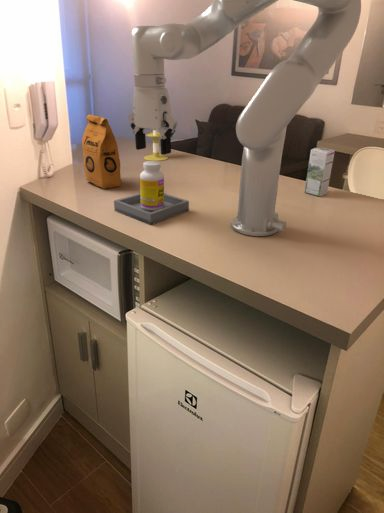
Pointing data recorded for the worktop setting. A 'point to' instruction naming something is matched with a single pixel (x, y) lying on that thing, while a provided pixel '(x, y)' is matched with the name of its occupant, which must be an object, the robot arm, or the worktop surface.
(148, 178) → the supplement bottle
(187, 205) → the tray
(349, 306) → the worktop surface
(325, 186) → the syrup box
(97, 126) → the coffee package
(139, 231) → the worktop surface
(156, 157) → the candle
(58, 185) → the worktop surface
